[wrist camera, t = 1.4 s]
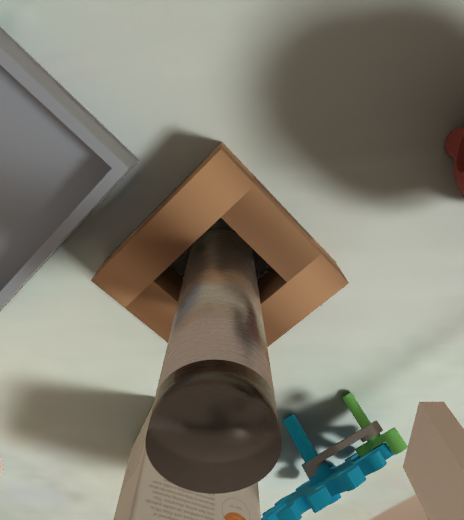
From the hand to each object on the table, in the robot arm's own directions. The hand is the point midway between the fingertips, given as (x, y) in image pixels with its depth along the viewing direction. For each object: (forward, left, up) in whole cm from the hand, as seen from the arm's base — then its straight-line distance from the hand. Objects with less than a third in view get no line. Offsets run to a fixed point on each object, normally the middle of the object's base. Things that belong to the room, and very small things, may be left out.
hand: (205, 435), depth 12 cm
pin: (0, 0, -13) cm, 13 cm away
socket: (0, 0, -13) cm, 13 cm away
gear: (+5, +16, -14) cm, 21 cm away
